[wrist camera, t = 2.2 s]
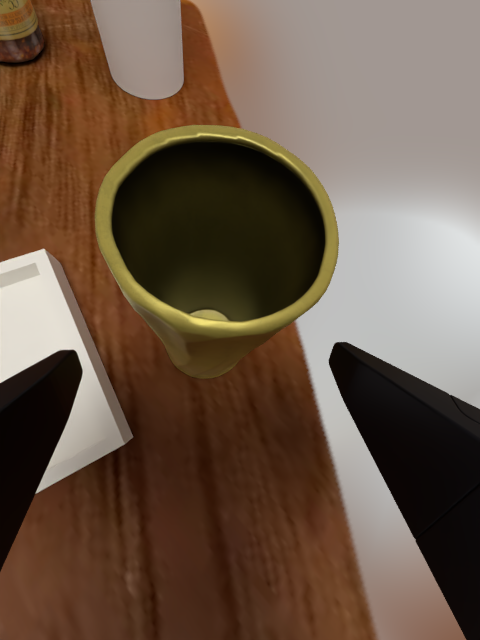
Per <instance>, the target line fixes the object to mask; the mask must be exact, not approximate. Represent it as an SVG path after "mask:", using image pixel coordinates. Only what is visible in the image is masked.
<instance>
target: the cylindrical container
mask: <svg viewBox="0 0 480 640" xmlns="http://www.w3.org/2000/svg"><path fill="white" fill-rule="evenodd" d="M90 1H91V4H92V8H93V11H94V15H95V19H96V22H97V26H98V29H99V33H100V36H101V40H102V44H103V47H104V51H105V54H106V58H107V62H108V65H109V69H110V72H111V75H112V78H113V80H114V81H115V82H116V84H117V85H118V86H119V87H120V88H122V89H123V90H124V91H126V92H127V93H129V94H131V95H134V96H136V97H140V98H144V99H155V100H157V99H164V98H167V97H170V96H172V95H174V94H176V93H177V92H178V91H179V90H180V89H181V87H182V85H183V82H184V73H183V51H182V29H181V7H180V0H90Z"/></svg>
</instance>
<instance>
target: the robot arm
mask: <svg viewBox="0 0 480 640" xmlns="http://www.w3.org/2000/svg"><path fill="white" fill-rule="evenodd" d="M329 365H330V368H331V371H332V373H333V376H334V378H335V381H336V383H337V386H338V388H339V391H340V394H341V396H342V398H343V400H344V403H345V404H346V407H347V409H348V411H349V412H350V414H351V416H352V418H353V420H354V422H355V424H356V426H357V428H358V430H359V432H360V434H361V436H362V438H363V439H364V442H365V443H366V445H367V447H368V449H369V451H370V453H371V455H372V457H373V459H374V461H375V463H376V465H377V467H378V469H379V471H380V473H381V474H382V476H383V478H384V480H385V482H386V484H387V486H388V488H389V490H390V491H391V494H392V496H393V498H394V500H395V502H396V504H397V505H398V508H399V509H400V511H401V513H402V515H403V517H404V519H405V521H406V523H407V525H408V527H409V529H410V531H411V533H412V535H413V537H414V538H415V539H416V543H417V545H418V547H419V549H420V550H421V553H422V554H423V556H424V558H425V560H426V562H427V564H428V566H429V568H430V570H431V572H432V574H433V576H434V578H435V580H436V582H437V584H438V586H439V587H440V589H441V591H442V593H443V595H444V597H445V599H446V601H447V603H448V605H449V607H450V609H451V611H452V613H453V615H454V617H455V619H456V620H457V622H458V624H459V626H460V628H461V630H462V632H463V634H464V636H465V638H466V640H480V409H478V408H476V407H474V406H472V405H470V404H468V403H466V402H464V401H462V400H460V399H458V398H456V397H454V396H452V395H449V394H448V393H446V392H444V391H442V390H440V389H438V388H436V387H434V386H432V385H430V384H428V383H426V382H424V381H422V380H421V379H419V378H417V377H415V376H413V375H411V374H409V373H407V372H405V371H402V370H401V369H399V368H397V367H395V366H392V365H391V364H389V363H387V362H385V361H383V360H381V359H379V358H377V357H375V356H373V355H371V354H369V353H367V352H365V351H363V350H361V349H359V348H357V347H355V346H353V345H351V344H349V343H347V342H337V343H335V344H334V346H333V349H332V352H331V355H330V358H329ZM82 375H83V369H82V366H81V363H80V360H79V357H78V354H77V352H76V351H75V350H59V351H57V352H55V353H53V354H52V355H50V356H48V357H46V358H44V359H43V360H41V361H39V362H37V363H35V364H34V365H32V366H30V367H28V368H26V369H24V370H23V371H21V372H19V373H17V374H15V375H14V376H12V377H10V378H8V379H6V380H5V381H3V382H1V383H0V571H1V569H2V567H3V564H4V562H5V560H6V558H7V555H8V553H9V551H10V549H11V547H12V544H13V542H14V540H15V538H16V535H17V533H18V531H19V529H20V527H21V524H22V522H23V520H24V518H25V515H26V513H27V511H28V509H29V507H30V504H31V502H32V500H33V498H34V495H35V493H36V491H37V489H38V487H39V484H40V482H41V480H42V478H43V475H44V473H45V471H46V469H47V467H48V464H49V462H50V460H51V458H52V455H53V453H54V451H55V449H56V447H57V444H58V442H59V440H60V438H61V435H62V433H63V431H64V429H65V426H66V424H67V422H68V419H69V416H70V413H71V410H72V407H73V404H74V401H75V398H76V395H77V391H78V388H79V385H80V382H81V379H82Z"/></svg>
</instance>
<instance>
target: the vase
mask: <svg viewBox="0 0 480 640" xmlns="http://www.w3.org/2000/svg"><path fill="white" fill-rule="evenodd" d="M95 229H96V236H97V241H98V245H99V249H100V251H101V253H102V255H103V257H104V259H105V261H106V262H107V264H108V266H109V268H110V270H111V272H112V274H113V276H114V278H115V279H116V281H117V283H118V285H119V287H120V289H121V291H122V293H123V294H124V296H125V297H126V299H127V300H128V302H129V303H130V304H131V306H132V307H133V308H134V310H135V311H136V312H137V313H138V314H139V315H140V316H141V317H142V318H143V319H144V320H145V321H146V323H147V324H148V325H149V326H150V327H151V328H152V330H153V331H154V332H155V333H156V334H157V335H158V337H159V338H160V339H161V341H162V342H163V344H164V346H165V347H166V351H167V354H168V356H169V358H170V359H171V361H172V363H173V364H174V365H175V366H176V367H177V368H178V369H179V370H180V371H182V372H183V373H185V374H187V375H189V376H191V377H195V378H204V379H205V378H214V377H218V376H221V375H223V374H225V373H226V372H228V371H229V370H231V369H232V368H233V367H234V366H235V365H236V364H237V363H238V361H239V360H240V359H241V358H243V357H244V356H246V355H247V354H248V353H249V352H251V351H252V350H253V349H255V348H256V347H258V346H260V345H262V344H263V343H265V342H266V341H267V340H269V339H270V338H271V337H272V336H273V335H275V334H276V333H277V332H279V331H280V330H282V329H283V328H285V327H286V326H288V325H289V324H291V323H292V322H293V321H295V320H296V319H297V318H298V317H300V316H301V315H302V314H304V313H305V312H306V311H308V310H309V309H310V308H312V307H313V306H314V305H315V304H316V303H317V302H318V301H319V300H320V298H321V297H322V295H323V294H324V293H325V292H326V290H327V288H328V286H329V284H330V281H331V278H332V275H333V273H334V270H335V266H336V263H337V257H338V246H339V238H338V228H337V222H336V217H335V213H334V210H333V207H332V204H331V201H330V199H329V196H328V194H327V193H326V191H325V189H324V187H323V185H322V184H321V183H320V181H319V180H318V178H317V177H316V175H315V174H314V173H313V172H312V171H311V169H310V168H309V167H308V166H307V165H306V164H304V163H303V162H302V161H301V160H300V159H299V158H297V157H296V156H295V155H294V154H292V153H290V152H289V151H288V150H286V149H285V148H283V147H282V146H280V145H279V144H277V143H276V142H274V141H272V140H271V139H269V138H267V137H264V136H262V135H259V134H257V133H254V132H250V131H247V130H244V129H240V128H235V127H228V126H216V125H191V126H183V127H178V128H173V129H168V130H164V131H160V132H158V133H155V134H153V135H151V136H149V137H147V138H145V139H144V140H142V141H140V142H139V143H137V144H136V145H135V146H133V147H132V148H131V149H130V150H129V151H128V152H127V153H126V154H125V155H124V156H123V157H122V158H121V159H120V160H119V161H118V162H117V163H116V164H115V165H114V166H113V167H112V168H111V169H110V171H109V172H108V173H107V175H106V176H105V177H104V180H103V182H102V184H101V187H100V189H99V193H98V197H97V201H96V209H95Z"/></svg>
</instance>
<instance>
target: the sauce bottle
mask: <svg viewBox="0 0 480 640" xmlns="http://www.w3.org/2000/svg"><path fill="white" fill-rule="evenodd" d="M43 48H44V39H43V36H42V33H41V31H40V28H39V26H38V19H37V16H36V13H35V11H34V8H33V6H32V3H31V1H30V0H0V61H3V62H8V63H9V62H14V63H16V62H24V61H28V60H32V59H34V58H35V57H36V56H37V55H38V54H39V53H40V52H41V50H42V49H43Z"/></svg>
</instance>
